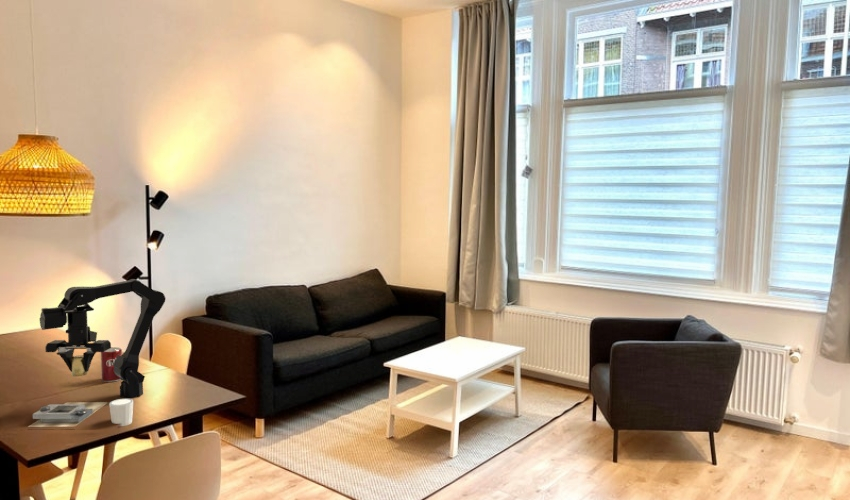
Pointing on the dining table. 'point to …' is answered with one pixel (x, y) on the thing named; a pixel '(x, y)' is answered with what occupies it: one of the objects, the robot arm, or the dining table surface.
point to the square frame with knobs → (62, 413)
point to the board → (88, 405)
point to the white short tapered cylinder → (121, 411)
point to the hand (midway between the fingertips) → (79, 371)
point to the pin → (78, 366)
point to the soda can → (109, 364)
